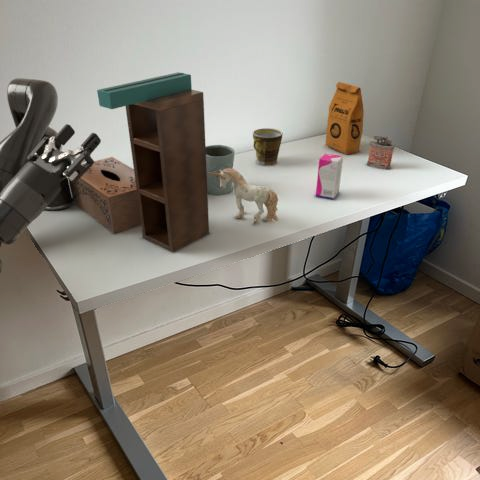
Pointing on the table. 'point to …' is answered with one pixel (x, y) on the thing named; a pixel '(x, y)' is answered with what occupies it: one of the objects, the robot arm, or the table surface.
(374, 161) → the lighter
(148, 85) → the pencil case
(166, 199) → the shelf
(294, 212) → the table surface
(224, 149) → the grey flower pot
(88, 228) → the table surface
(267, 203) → the unicorn figurine
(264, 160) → the ceramic cup
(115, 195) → the tissue box cover
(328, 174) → the supplement box
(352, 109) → the coffee package
